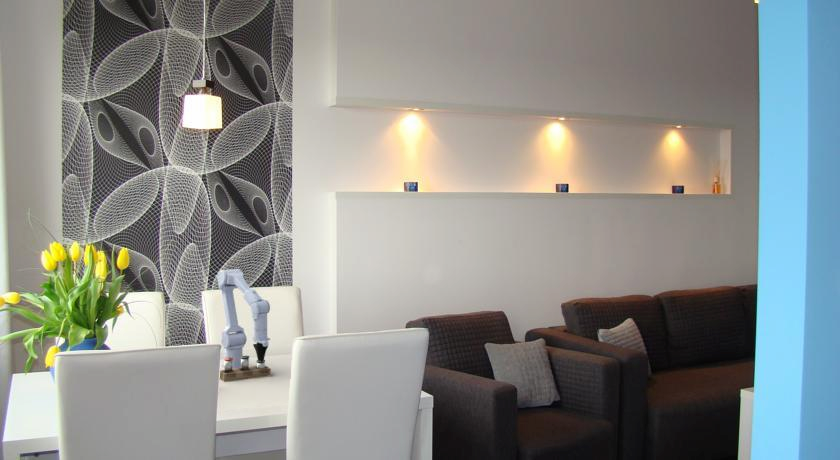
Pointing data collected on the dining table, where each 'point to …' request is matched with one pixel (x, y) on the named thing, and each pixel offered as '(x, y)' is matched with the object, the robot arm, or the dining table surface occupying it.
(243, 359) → the plunger
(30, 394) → the dining table surface
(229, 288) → the robot arm
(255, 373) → the jig
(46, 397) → the dining table surface
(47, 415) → the dining table surface
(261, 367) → the plunger
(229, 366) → the plunger red
